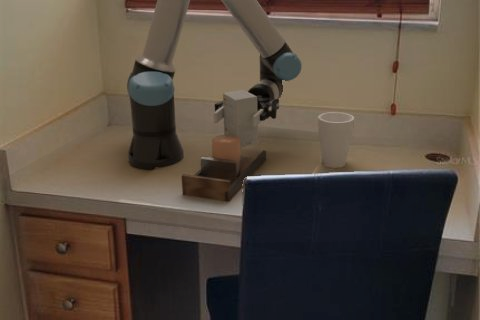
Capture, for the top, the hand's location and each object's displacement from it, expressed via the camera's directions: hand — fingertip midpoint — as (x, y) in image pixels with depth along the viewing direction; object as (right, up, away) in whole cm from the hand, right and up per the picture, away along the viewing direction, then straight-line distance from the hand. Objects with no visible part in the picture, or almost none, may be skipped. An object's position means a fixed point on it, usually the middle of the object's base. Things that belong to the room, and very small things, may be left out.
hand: (234, 119), depth 156 cm
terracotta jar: (-2, -14, +1) cm, 15 cm away
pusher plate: (-4, -16, -4) cm, 17 cm away
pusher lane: (-2, -15, +1) cm, 15 cm away
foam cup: (+27, -11, +10) cm, 31 cm away
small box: (+2, -6, +7) cm, 9 cm away
